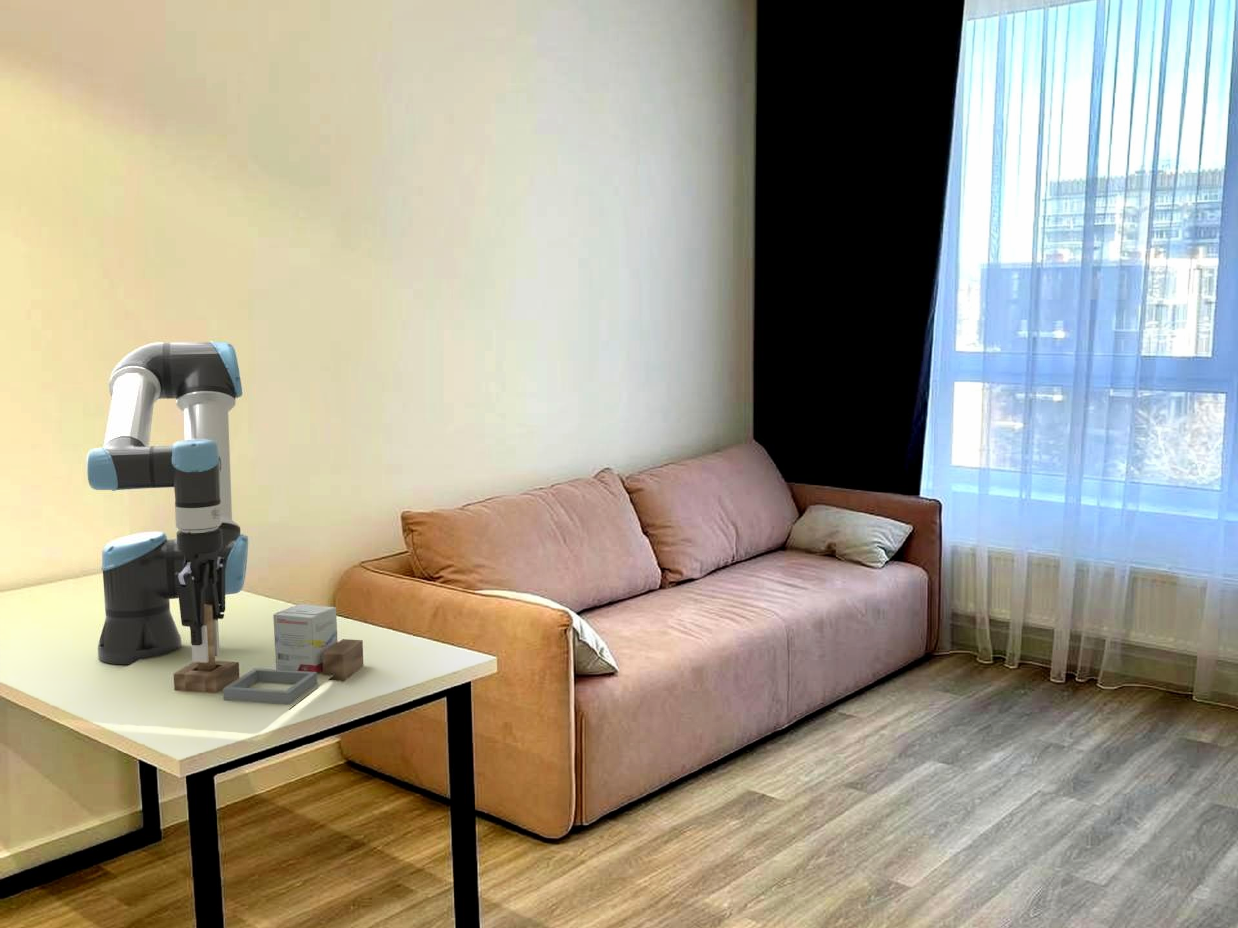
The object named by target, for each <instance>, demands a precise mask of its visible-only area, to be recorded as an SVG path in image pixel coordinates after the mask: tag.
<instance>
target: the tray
mask: <svg viewBox="0 0 1238 928" xmlns="http://www.w3.org/2000/svg"><path fill="white" fill-rule="evenodd" d="M239 677H240V678H239V679H237V680H236V681H234V682H232V683H231V684H229V685H228V686H226V687H225V688H223V689H222V691H223V692H222V693H223V695H222V696H223V701H233V702H244V703H248V702H250V703H260V704H261V703H262V704H263V703H264V704H273V705H274V704H276V705H277V704H278V705H290V704H292V703H294V702H295V701H296V700H298V699H299V698H300V697H301V696H303V695H304V694H305V693H307V692H308V691H309V690H311V689H312V688H313V687H315V686H316V685H317V684H318V673H317V672H306V671H290V670H276V669H272V668H271V669H270V668H256V667H254V668H252V669H251V670H249V671H247V673H245V674H242V676H239ZM258 682H260V683H261V682H262V683H277V684H292V686H290V687H289V688H288V689H286V690H285V689H284V690H283V689H267V688H266V689H265V688H254V687H251V686H253V685H254V684H256V683H258ZM317 690H318V687H316V688H315V689H313V690H312V691H311V692H310V693H309V694H307V695H305V696H304V698H302V699H301V700H299V701H298V702H297V703H295V704H294V705H293V706H291V707H290V708H289V709H288V711H289V710H291V709H293V708H294V707H295V706H296V705H298V704H299V703H300V702H302V701H304V700H305V699H306V698H307V697H308V696H310V695H312V693H314V692H315V691H317Z"/></svg>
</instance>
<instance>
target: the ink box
mask: <svg viewBox="0 0 1238 928" xmlns="http://www.w3.org/2000/svg"><path fill="white" fill-rule="evenodd" d="M272 615H273V630H274V631H273V632H274V633H273V634H274V653H275V657H274V658H275V670H290V671H306V672H317V674H319V673H321V672H323V661H322V653H324V652H325V651H326V650H328V649H329V648H331V647H332V646H334V645H335V644H336V643H338V642H339V641H338V623H337V620H338V619H337V607H334V606H326V605H313V604H306V603H305V604H304V603H299V604H297V605H294V606H291V607H289V608H285V609H283V610H280V611H278V612H276V613H274V614H272Z"/></svg>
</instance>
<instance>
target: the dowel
mask: <svg viewBox="0 0 1238 928" xmlns="http://www.w3.org/2000/svg"><path fill="white" fill-rule="evenodd" d="M204 626H207V637H208V656H209V662H207V663H202V662H197V667H198V671H208V672H211V671H213V670H215V669H216V666H215V661H216V656H215V648H214V630H213V611H212V605H211V604H204Z"/></svg>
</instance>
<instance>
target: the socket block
mask: <svg viewBox="0 0 1238 928" xmlns="http://www.w3.org/2000/svg"><path fill="white" fill-rule="evenodd" d="M215 666H216V669H215V670H213V671H211V672H208V671H198V667H197V662H192V663H190V664H188V665H186V666H184V667H183V668H181V669H179V670H177V671H176V672H173V689H174V691H177V692H178V691H179V692H180V691H181V692H193V693H209V694H218V693H219V692H221V691H223V688H225V687H226V686H228V685H229V684H231V683H232V682H234V681H236V680H237V679H239V678H240V677H241V676H240V662H239V661H228V660H215Z"/></svg>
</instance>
